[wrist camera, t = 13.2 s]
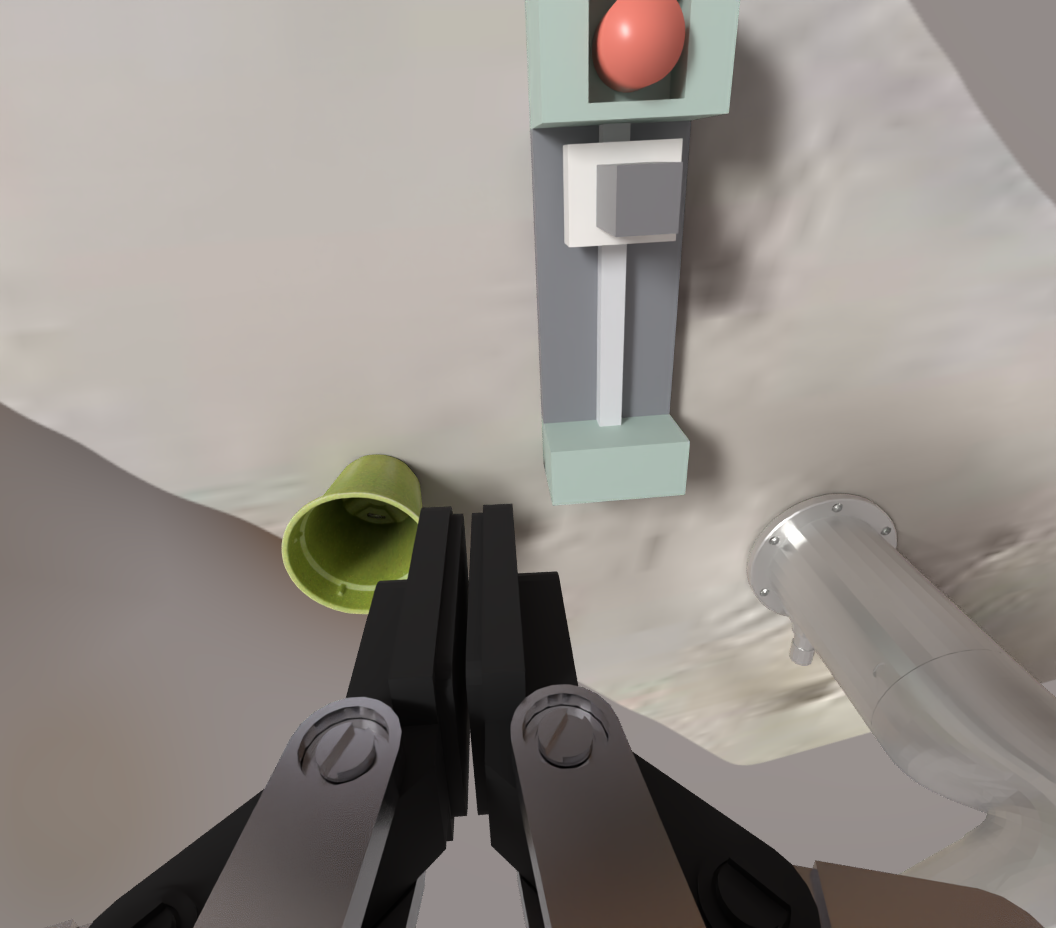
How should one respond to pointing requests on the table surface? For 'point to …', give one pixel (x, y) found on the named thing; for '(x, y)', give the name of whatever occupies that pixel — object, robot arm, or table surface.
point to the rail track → (612, 256)
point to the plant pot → (355, 534)
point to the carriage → (622, 192)
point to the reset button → (638, 43)
